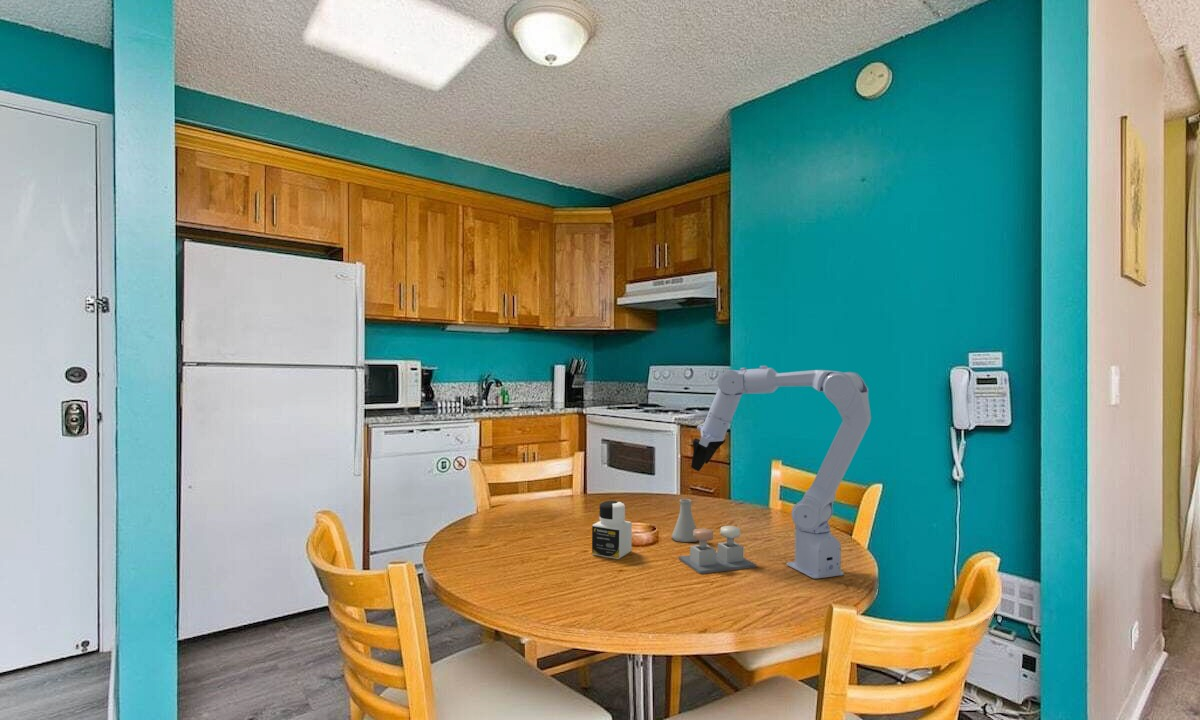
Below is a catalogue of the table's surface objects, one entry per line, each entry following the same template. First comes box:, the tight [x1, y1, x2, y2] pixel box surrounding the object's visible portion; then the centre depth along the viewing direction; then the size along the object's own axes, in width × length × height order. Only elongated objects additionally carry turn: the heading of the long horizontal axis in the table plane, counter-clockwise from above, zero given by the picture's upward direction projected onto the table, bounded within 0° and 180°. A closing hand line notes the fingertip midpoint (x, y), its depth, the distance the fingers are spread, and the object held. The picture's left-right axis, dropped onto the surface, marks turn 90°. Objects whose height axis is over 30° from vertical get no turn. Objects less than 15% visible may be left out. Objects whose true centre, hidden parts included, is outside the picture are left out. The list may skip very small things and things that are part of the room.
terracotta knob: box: [693, 527, 714, 550], centre depth 133 cm, size 4×4×4 cm
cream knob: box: [720, 525, 741, 547], centre depth 135 cm, size 4×4×4 cm
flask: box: [670, 498, 699, 543], centre depth 152 cm, size 7×7×10 cm
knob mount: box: [678, 541, 757, 575], centre depth 134 cm, size 10×14×4 cm
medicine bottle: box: [591, 500, 633, 560], centre depth 140 cm, size 7×7×12 cm
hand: (699, 465), depth 147 cm, fingers open, 7 cm apart
